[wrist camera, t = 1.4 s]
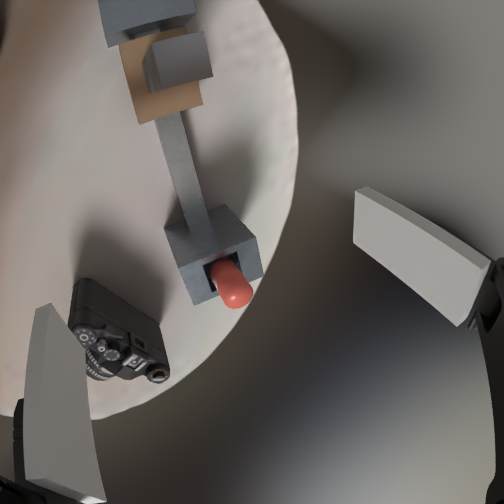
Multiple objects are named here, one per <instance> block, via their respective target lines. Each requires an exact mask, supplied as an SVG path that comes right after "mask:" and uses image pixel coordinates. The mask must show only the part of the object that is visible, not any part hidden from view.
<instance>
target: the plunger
mask: <svg viewBox="0 0 504 504" xmlns="http://www.w3.org/2000/svg"><path fill="white" fill-rule="evenodd" d="M209 275H210V277H211V279H212V281H213V283H214V285H215V287H216V288H217V290H218V292H219V294H220V296H221V297H222V299H223V301H224V303H225V305H226V306H227V307H229V308H233V309H236V308H241V307H243V306H245V305H246V304H247V303H248V302H249V301H250V300H251V299H252V296H253V289H252V287H251V285H250V284H249V283H248V281H247V280H246V278H245V277H244V276H243V274H242V273H241V271H240V270H239V269H238V267H237V266H236V264H235V263H234V262H233V261H232V260H231V259H228V258H222V259H219V260H217V261H216V262H214V263H213V264H212V266H211V267H210V270H209Z"/></svg>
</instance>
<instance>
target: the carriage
mask: <svg viewBox="0 0 504 504" xmlns="http://www.w3.org/2000/svg"><path fill="white" fill-rule="evenodd" d="M119 50H120V54H121V58H122V63H123V67H124V71H125V75H126V79H127V82H128V86H129V90H130V94H131V98H132V101H133V105H134V108H135V112H136V115H137V119H138V122H139V124H143V123H146V122H149V121H152V120H154V119H157V118H160V117H164V116H167V115H170V114H173V113H176V112H179V111H183V110H186V109H190V108H193V107H197V106H200V105H203V102H202V97H201V93H200V89H199V84H198V80H201V79H206V78H210V77H213V73H212V68H211V64H210V59H209V55H208V50H207V46H206V41H205V37H204V32H203V31H202V32H197V33H192V34H187V32H186V27H181V28H176V29H172V30H167V31H163V32H159V33H155V34H151V35H148V36H144V37H141V38H137V39H134V40H131V41H127V42H124V43H121V44H119Z"/></svg>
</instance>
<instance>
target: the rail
mask: <svg viewBox="0 0 504 504" xmlns="http://www.w3.org/2000/svg"><path fill="white" fill-rule="evenodd" d="M98 3H99V9H100V14H101V19H102V24H103V29H104V33H105V38H106V41H107V45H108V48H109V47H112V46H115V45H118V44H121V43H124V42H127V41H130V40H133V39H137V38H141V37H144V36H148V35H151V34H155V33H159V32H163V31H167V30H171V29H175V28H180V27H183V26H184V25H185V24H186V23H187V22H188V21H189V20H190V19H191V18H192V17H193V16H194V15H195V14H196V13H197V12H196V7H195V3H194V0H98ZM154 120H155V123H156V127H157V131H158V134H159V138H160V141H161V144H162V148H163V151H164V155H165V158H166V161H167V165H168V168H169V171H170V174H171V178H172V181H173V184H174V187H175V190H176V194H177V197H178V200H179V203H180V206H181V209H182V212H183V215H184V218H185V220H184V221H182V222H179V223H176V224H174V225H171V226H169V227H166V228H164V231H165V233H166V236H167V239H168V242H169V244H170V247H171V250H172V253H173V255H174V258H175V261H176V263H177V266H178V268H179V271H180V273H181V276H182V278H183V280H184V283H185V285H186V288H187V290H188V292H189V295H190V297H191V299H192V302H193V304H194V306H195V305H197V304H199V303H202V302H204V301H207V300H209V299H211V298H214V297H216V296H218V295H220V294H219V292H218V290H217V288H216V287H215V285H214V283H213V281H212V279H211V277H210V275H209V270H210V267H211V266H212V264H213V263H214V262H216V261H217V260H219V259H222V258H228V259H231V260H232V261H233V262H234V263H235V264H236V266H237V267H238V269H239V270H240V271H241V273H242V274H243V276H244V277H245V278H246V280H247V281H248V283H249V282H251V281H253V280H256V279H258V278H260V277H263V276H264V274H263V269H262V264H261V259H260V254H259V249H258V244H257V240H256V236H255V235H254V234H253V233H252V232H251V231H250V230H249V229H248V228H247V227H246V225H245V224H243V223H242V222H241V221H240V220H239V219H238V217H237V216H236V215H235V214H234V213H233V212H232V211H231V210H230V209H229V208H228V207H227V206H226V205H224V206H221V207H219V208H216V209H213V210H210V211H208V212H207V210H206V206H205V203H204V199H203V196H202V192H201V189H200V185H199V181H198V178H197V174H196V171H195V167H194V163H193V160H192V156H191V152H190V148H189V145H188V141H187V137H186V133H185V130H184V126H183V122H182V118H181V114H180V111H179V112H176V113H173V114H170V115H167V116H164V117H160V118H157V119H154Z"/></svg>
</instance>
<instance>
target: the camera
mask: <svg viewBox="0 0 504 504" xmlns="http://www.w3.org/2000/svg"><path fill="white" fill-rule="evenodd" d="M68 328H69V329H70V330H71V332H72V333H73V334H74V336H75V337H76V338H77V340H78V341H79V342H80V343H81V345H82V346H83V347H84V348H85V356H86V374H87V375H88V376H89V377H91V378H93V379H95V380H98V381H99V380H101V381H105V380H109V379H112V378H113V377H114V376H115V375H116V376H118V377H120V378H122V379H124V380H132V379H134V378H136V377H138V376H141V375H144V376H147V379H148V380H149V381H151V382H153V383H158V384H159V383H163V382H164V381H166V380H167V379H168V378H169V377H170V367H169V363H168V358H167V355H166V350H165V346H164V342H163V338H162V334H161V330H160V327H159V325H158V324H157V322H155V321H154V320H152V319H151V318H149V317H147V316H146V315H144V314H143V313H141V312H139V311H138V310H136V309H135V308H133V307H132V306H130V305H129V304H127V303H126V302H124V301H123V300H121V299H120V298H118V297H117V296H115V295H114V294H112V293H111V292H109V291H108V290H107V289H105V288H104V287H102V286H101V285H99V284H98V283H96V282H95V281H93V280H92V279H89V278H84V279H81V280H79V282H78V283H77V284H76V285H75V286H74V288H73V292H72V300H71V306H70V315H69V319H68Z"/></svg>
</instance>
